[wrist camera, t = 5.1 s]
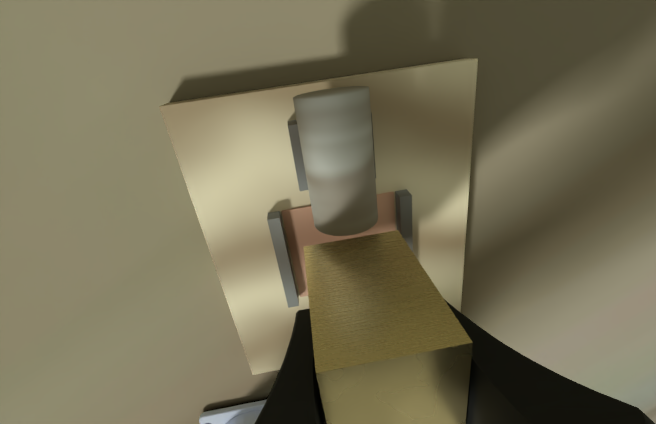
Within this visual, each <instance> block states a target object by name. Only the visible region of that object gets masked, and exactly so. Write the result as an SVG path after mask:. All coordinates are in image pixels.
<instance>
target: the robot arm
mask: <svg viewBox="0 0 656 424" xmlns="http://www.w3.org/2000/svg"><path fill="white" fill-rule="evenodd" d="M444 300H445V299H444ZM445 301H446V300H445ZM446 303H447V304H448V306H449V307H450V309H451V310H452V312H453V313H454V315H455V316H456V318H457V319H458V321H459V322H460V324H461V325H462V327H463V328H464V330H465V331H466V333H467V334H468V336H469V337H470V339H471V340H472V342H473V347H472V358H471V369H470V380H469V391H468V402H467V413H466V424H655V423H654V422H653V421H652V420H651V419H650V418H649V417H647V416H646V415H645V414H644V413H643V412H642V411H641V410H640V409H639V408H637V407H634V406H632V405H629V404H627V403H624V402H622V401H619V400H617V399H614V398H612V397H609V396H606V395H604V394H601V393H599V392H596V391H594V390H592V389H589V388H587V387H585V386H583V385H581V384H578V383H576V382H574V381H572V380H570V379H567V378H565V377H563V376H561V375H559V374H557V373H555V372H553V371H551V370H549V369H547V368H545V367H544V366H542V365H540V364H538V363H536V362H534V361H532V360H530V359H529V358H527V357H525V356H523V355H522V354H520V353H518V352H517V351H515V350H513V349H512V348H510V347H508V346H507V345H505V344H503V343H502V342H500V341H499V340H497V339H496V338H494V337H493V336H492V335H490V334H489V333H487V332H486V331H484V330H483V329H482V328H480V327H479V326H477V325H476V324H475V323H473V322H472V321H471V320H470V319H468V318H467V317H466V316H464V315H463V314H462V313H461V312H459V311H458V310H457V309H456V308H454V307H453V306H452V305H451V304H449V303H448V302H447V301H446ZM199 422H200V424H327V422H326V418H325V413H324V409H323V404H322V399H321V395H320V390H319V386H318V381H317V377H316V370H315V360H314V349H313V339H312V329H311V319H310V308H309V309H304V310H298V311H297V313H296V317H295V323H294V327H293V331H292V335H291V339H290V342H289V345H288V348H287V352H286V355H285V358H284V360H283V363H282V366H281V368H280V371H279V373H278V376H277V378H276V381H275V383H274V385H273V388H272V390H271V392H270V394H269V396H268V398H267V400H262V401H257V402H252V403H247V404H242V405H237V406H232V407H227V408H222V409H217V410H212V411H207V412H203V413H202V414H201V415H200V418H199Z"/></svg>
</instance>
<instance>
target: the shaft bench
mask: <svg viewBox="0 0 656 424" xmlns="http://www.w3.org/2000/svg"><path fill="white" fill-rule="evenodd" d="M477 66H478V59H458V60H451V61H445V62H438V63H431V64H425V65H418V66H411V67H405V68H398V69H391V70H385V71H378V72H371V73H365V74H358V75H351V76H345V77H338V78H331V79H325V80H318V81H311V82H305V83H298V84H291V85H285V86H278V87H271V88H265V89H258V90H251V91H245V92H238V93H231V94H225V95H218V96H211V97H205V98H198V99H191V100H185V101H178V102H171V103H167V104H164V105H162V106H159V108H160V110H161V113H162V116H163V119H164V122H165V125H166V128H167V131H168V133H169V136H170V139H171V142H172V145H173V148H174V151H175V153H176V156H177V159H178V162H179V165H180V168H181V171H182V174H183V176H184V179H185V182H186V185H187V188H188V191H189V194H190V196H191V199H192V202H193V205H194V208H195V211H196V214H197V217H198V219H199V222H200V225H201V228H202V231H203V234H204V237H205V239H206V242H207V245H208V248H209V251H210V254H211V257H212V260H213V262H214V265H215V268H216V271H217V274H218V277H219V280H220V282H221V285H222V288H223V291H224V294H225V297H226V300H227V302H228V305H229V308H230V311H231V314H232V317H233V320H234V323H235V325H236V328H237V331H238V334H239V337H240V340H241V343H242V345H243V348H244V351H245V354H246V357H247V360H248V363H249V366H250V368H251V371H252V374H253V375H255V374H260V373H265V372H270V371H275V370H280V368H281V366H282V363H283V360H284V358H285V355H286V352H287V348H288V345H289V342H290V339H291V335H292V331H293V327H294V323H295V317H296V313H297V311H298V310H304V309H309V298H308V288H307V277H306V267H305V257H304V246H310V245H316V244H321V243H327V242H333V241H338V240H344V239H350V238H356V237H361V236H367V235H373V234H378V233H384V232H390V231H395V230H398V231H399V232H400V234H401V235H402V237H403V238H404V240H405V241H406V243H407V244H408V246H409V247H410V249H411V250H412V252H413V253H414V255H415V256H416V258H417V259H418V261H419V262H420V264H421V265H422V267H423V268H424V270H425V271H426V273H427V274H428V276H429V277H430V279H431V280H432V282H433V283H434V285H435V286H436V288H437V289H438V291H439V292H440V294H441V295H442V297H443V298H444V299H445V300H446V301H447V302H448V303H449V304H451V305H452V306H453V307H454V308H456V309H457V310H458V311H459V312H461V298H462V284H463V269H464V255H465V240H466V226H467V211H468V197H469V182H470V168H471V153H472V139H473V124H474V110H475V95H476V81H477Z"/></svg>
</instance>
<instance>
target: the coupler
mask: <svg viewBox="0 0 656 424" xmlns="http://www.w3.org/2000/svg"><path fill="white" fill-rule="evenodd" d="M304 257H305V267H306V277H307V288H308V298H309V308H310V319H311V329H312V339H313V349H314V360H315V370H316V377H317V381H318V386H319V390H320V395H321V399H322V404H323V409H324V413H325V418H326V422H327V424H466V413H467V402H468V391H469V380H470V369H471V358H472V347H473V342H472V340H471V339H470V337H469V336H468V334H467V333H466V331H465V330H464V328H463V327H462V325H461V324H460V322H459V321H458V319H457V318H456V316H455V315H454V313H453V312H452V310H451V309H450V307H449V306H448V304H447V303H446V301H445V300H444V298H443V297H442V295H441V294H440V292H439V291H438V289H437V288H436V286H435V285H434V283H433V282H432V280H431V279H430V277H429V276H428V274H427V273H426V271H425V270H424V268H423V267H422V265H421V264H420V262H419V261H418V259H417V258H416V256H415V255H414V253H413V252H412V250H411V249H410V247H409V246H408V244H407V243H406V241H405V240H404V238H403V237H402V235H401V234H400V232H399V231H398V230H395V231H390V232H384V233H378V234H373V235H367V236H361V237H356V238H350V239H344V240H338V241H333V242H327V243H321V244H316V245H310V246H304Z"/></svg>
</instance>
